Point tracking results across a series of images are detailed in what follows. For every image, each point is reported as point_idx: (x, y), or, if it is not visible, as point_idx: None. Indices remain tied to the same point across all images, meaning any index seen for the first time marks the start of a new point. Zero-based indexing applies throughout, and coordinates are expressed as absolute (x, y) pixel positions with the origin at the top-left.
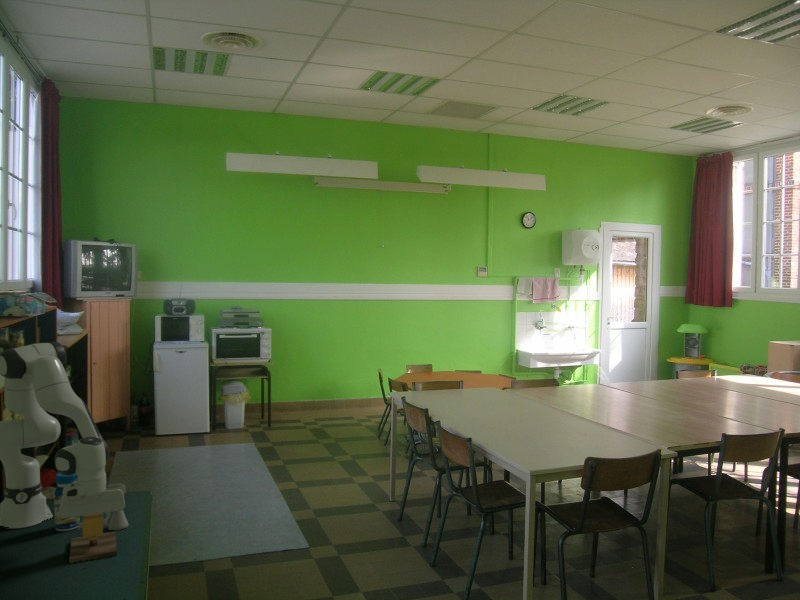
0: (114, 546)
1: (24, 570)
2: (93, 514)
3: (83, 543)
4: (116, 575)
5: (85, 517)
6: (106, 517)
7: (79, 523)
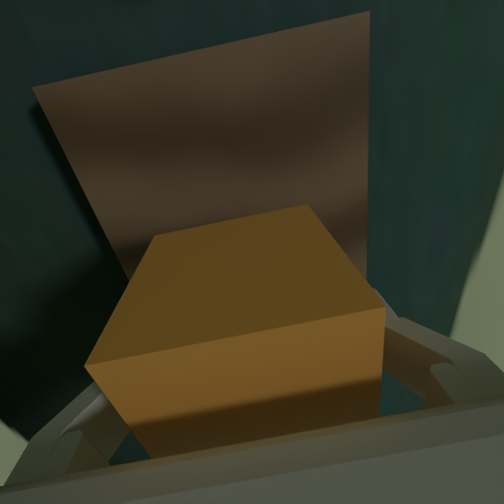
0: None
1: (16, 378)
2: (257, 390)
3: (174, 214)
4: None
5: (180, 451)
6: (401, 361)
7: None
